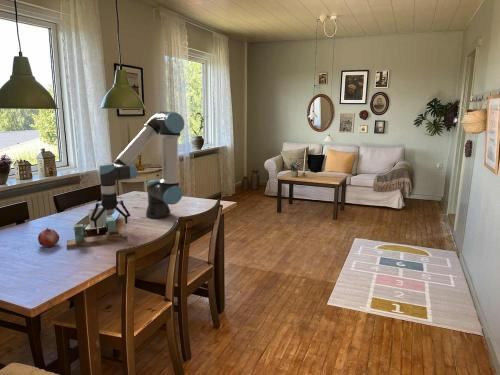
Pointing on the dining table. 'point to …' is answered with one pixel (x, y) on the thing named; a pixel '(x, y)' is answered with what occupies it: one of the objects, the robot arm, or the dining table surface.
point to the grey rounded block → (101, 219)
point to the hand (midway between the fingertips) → (111, 230)
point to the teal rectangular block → (111, 225)
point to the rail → (93, 238)
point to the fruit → (48, 238)
